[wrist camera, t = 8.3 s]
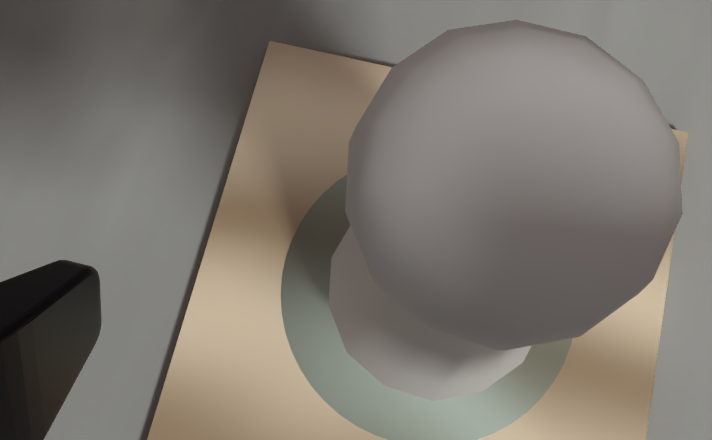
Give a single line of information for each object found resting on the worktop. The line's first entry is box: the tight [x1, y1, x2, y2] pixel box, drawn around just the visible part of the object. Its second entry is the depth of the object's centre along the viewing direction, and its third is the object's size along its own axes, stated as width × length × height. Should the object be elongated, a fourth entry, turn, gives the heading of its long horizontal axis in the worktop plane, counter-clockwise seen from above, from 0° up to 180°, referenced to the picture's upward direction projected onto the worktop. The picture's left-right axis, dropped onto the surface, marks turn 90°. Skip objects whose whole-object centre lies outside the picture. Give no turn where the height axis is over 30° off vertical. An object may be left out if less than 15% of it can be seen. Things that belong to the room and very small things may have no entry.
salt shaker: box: [329, 20, 682, 401], centre depth 14 cm, size 6×6×13 cm
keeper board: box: [147, 41, 688, 440], centre depth 21 cm, size 14×14×1 cm
